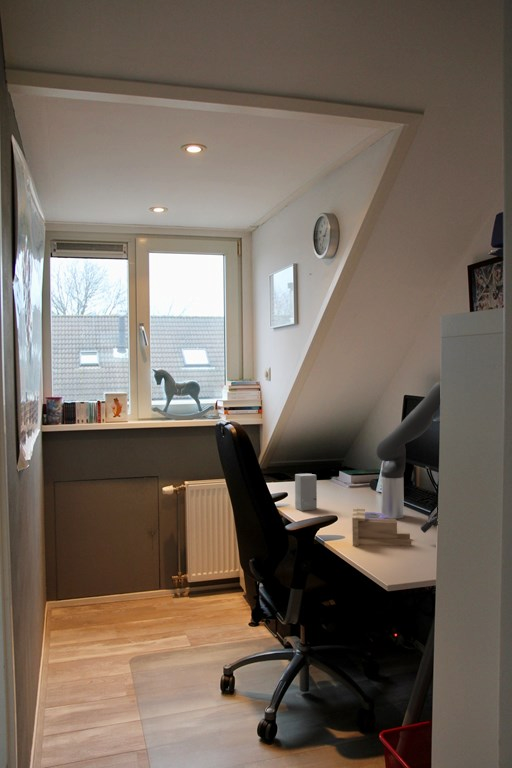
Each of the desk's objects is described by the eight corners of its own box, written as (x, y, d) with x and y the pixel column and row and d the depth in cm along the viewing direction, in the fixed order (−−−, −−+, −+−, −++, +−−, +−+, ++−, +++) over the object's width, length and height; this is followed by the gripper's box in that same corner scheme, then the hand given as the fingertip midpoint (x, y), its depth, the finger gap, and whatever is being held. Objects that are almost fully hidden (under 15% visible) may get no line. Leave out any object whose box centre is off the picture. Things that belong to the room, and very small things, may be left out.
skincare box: (301, 511, 282) (300, 476, 281) (294, 508, 288) (293, 473, 288) (318, 509, 285) (317, 474, 284) (310, 506, 292) (310, 472, 291)
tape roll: (389, 525, 257) (389, 513, 257) (382, 533, 246) (382, 520, 246) (361, 522, 262) (361, 510, 262) (353, 529, 252) (352, 517, 251)
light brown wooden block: (358, 539, 239) (358, 518, 238) (396, 540, 236) (396, 519, 236) (358, 543, 234) (358, 521, 233) (397, 544, 231) (396, 522, 231)
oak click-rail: (353, 535, 244) (353, 508, 243) (409, 536, 240) (409, 510, 239) (352, 545, 230) (352, 518, 229) (412, 547, 226) (411, 519, 226)
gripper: (446, 487, 236) (413, 518, 239) (451, 494, 223) (416, 528, 226) (461, 501, 235) (428, 533, 238) (467, 509, 222) (431, 543, 225)
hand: (422, 530), depth 232 cm, fingers closed
